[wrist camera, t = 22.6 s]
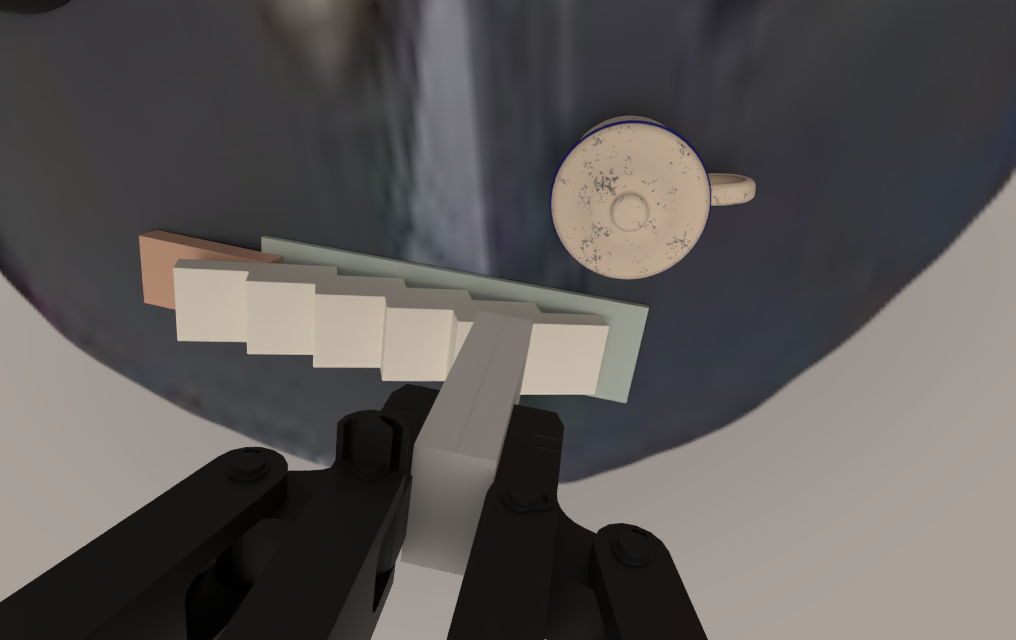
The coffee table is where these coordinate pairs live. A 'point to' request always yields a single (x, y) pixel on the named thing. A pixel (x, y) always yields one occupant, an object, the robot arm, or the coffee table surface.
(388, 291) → the domino
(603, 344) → the domino
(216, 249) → the domino
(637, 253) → the teacup with lid
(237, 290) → the domino
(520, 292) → the strip
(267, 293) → the domino
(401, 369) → the domino
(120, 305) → the coffee table surface
